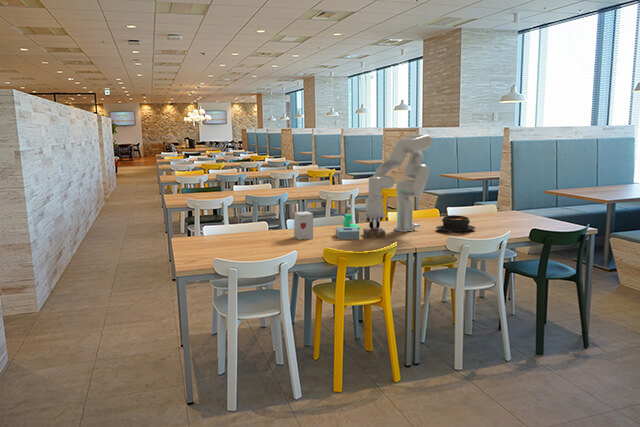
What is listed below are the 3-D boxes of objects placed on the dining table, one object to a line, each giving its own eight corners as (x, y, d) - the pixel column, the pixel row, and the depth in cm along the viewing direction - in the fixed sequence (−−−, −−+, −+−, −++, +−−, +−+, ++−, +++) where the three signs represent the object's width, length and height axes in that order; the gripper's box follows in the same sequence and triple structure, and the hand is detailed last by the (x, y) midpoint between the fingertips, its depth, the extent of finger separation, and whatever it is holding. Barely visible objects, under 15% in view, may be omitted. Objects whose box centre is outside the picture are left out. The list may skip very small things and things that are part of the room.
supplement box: (298, 240, 280) (298, 214, 277) (293, 236, 288) (293, 212, 286) (313, 238, 283) (313, 213, 281) (308, 235, 292) (308, 210, 289)
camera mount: (360, 231, 302) (360, 215, 300) (348, 232, 301) (348, 215, 299) (354, 227, 314) (355, 212, 312) (343, 228, 312) (343, 212, 310)
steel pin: (376, 235, 291) (376, 217, 289) (377, 236, 288) (377, 218, 286) (371, 235, 291) (371, 217, 289) (372, 236, 288) (372, 218, 286)
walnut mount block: (381, 233, 295) (381, 228, 295) (385, 237, 285) (385, 232, 284) (363, 234, 294) (363, 228, 294) (366, 238, 284) (366, 232, 283)
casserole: (464, 226, 315) (465, 213, 314) (481, 232, 298) (482, 219, 296) (429, 229, 308) (430, 215, 307) (445, 235, 291) (446, 221, 289)
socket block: (356, 234, 295) (356, 226, 294) (359, 238, 283) (359, 231, 282) (336, 234, 294) (336, 227, 293) (338, 239, 282) (338, 231, 281)
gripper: (387, 196, 290) (386, 226, 293) (359, 197, 288) (359, 227, 292) (390, 198, 282) (389, 229, 286) (362, 199, 281) (361, 230, 284)
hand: (374, 228), depth 289 cm, fingers closed on steel pin, 3 cm apart
